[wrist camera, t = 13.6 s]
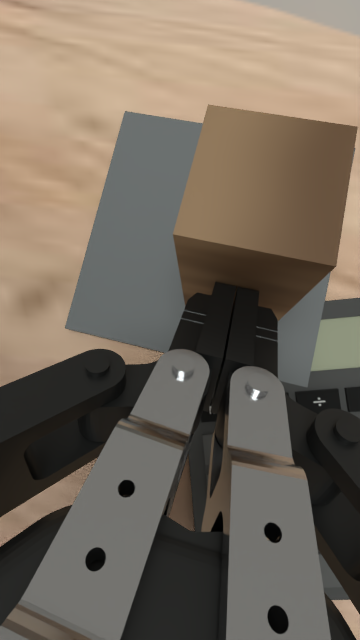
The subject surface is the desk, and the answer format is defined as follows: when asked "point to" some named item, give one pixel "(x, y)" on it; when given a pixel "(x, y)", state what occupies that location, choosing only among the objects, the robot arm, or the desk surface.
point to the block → (263, 205)
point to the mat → (160, 251)
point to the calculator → (301, 403)
